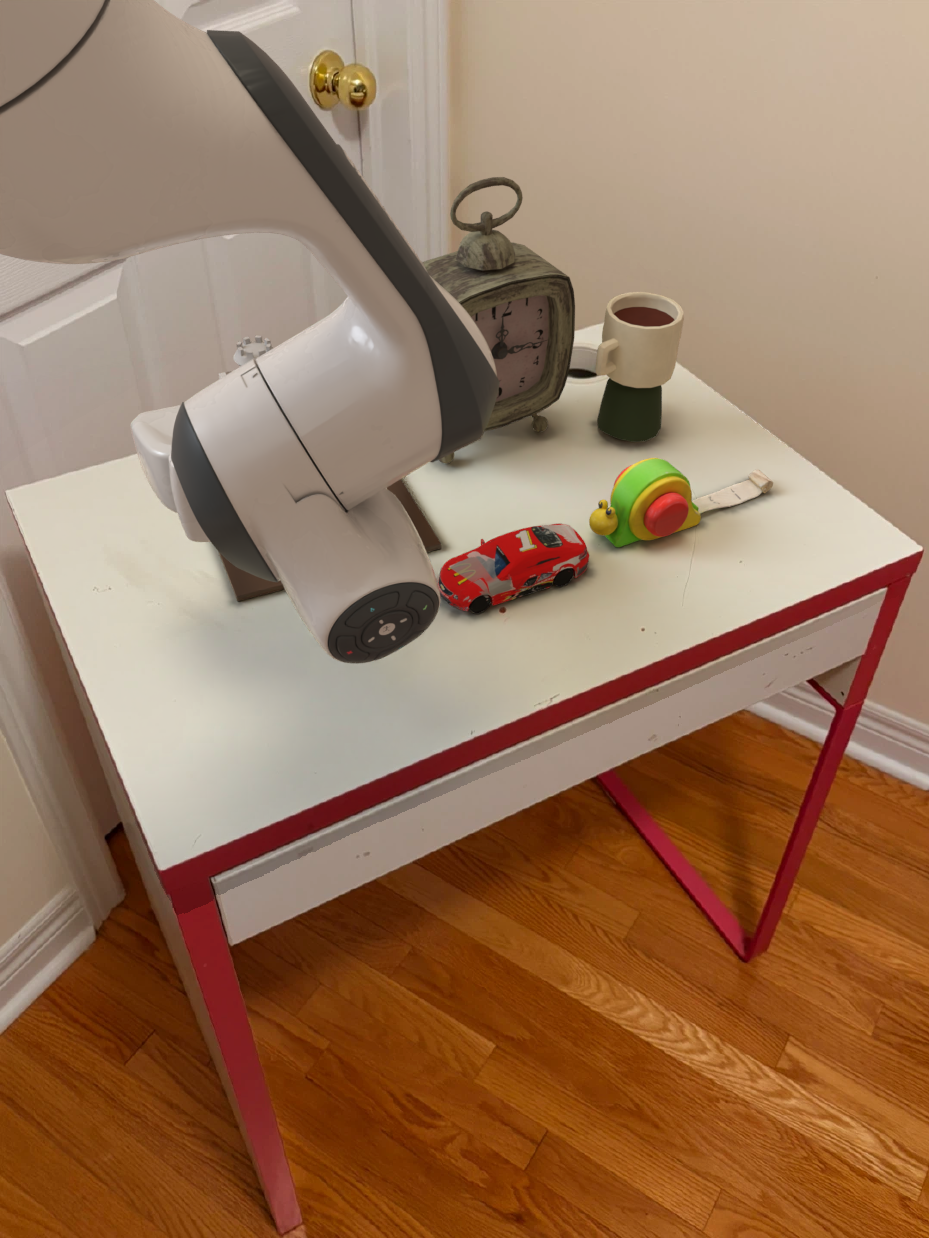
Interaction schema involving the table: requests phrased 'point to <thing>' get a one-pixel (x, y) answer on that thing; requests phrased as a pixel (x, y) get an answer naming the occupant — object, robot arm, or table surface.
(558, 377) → the tabletop clock
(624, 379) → the cream coffee mug
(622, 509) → the toy measuring tape
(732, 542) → the table surface
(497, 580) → the race car
